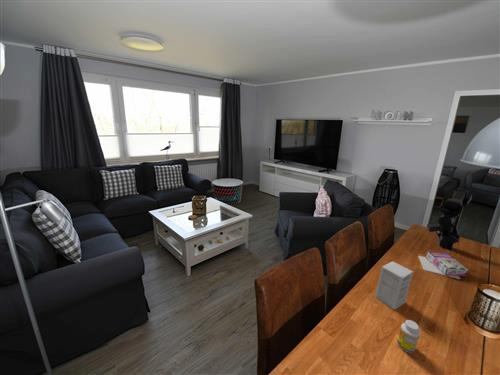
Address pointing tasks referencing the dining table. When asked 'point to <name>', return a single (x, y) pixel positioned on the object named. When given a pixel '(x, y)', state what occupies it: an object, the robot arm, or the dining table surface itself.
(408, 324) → the supplement bottle
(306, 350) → the dining table surface
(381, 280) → the supplement box
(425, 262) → the mat
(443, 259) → the candy bar box
